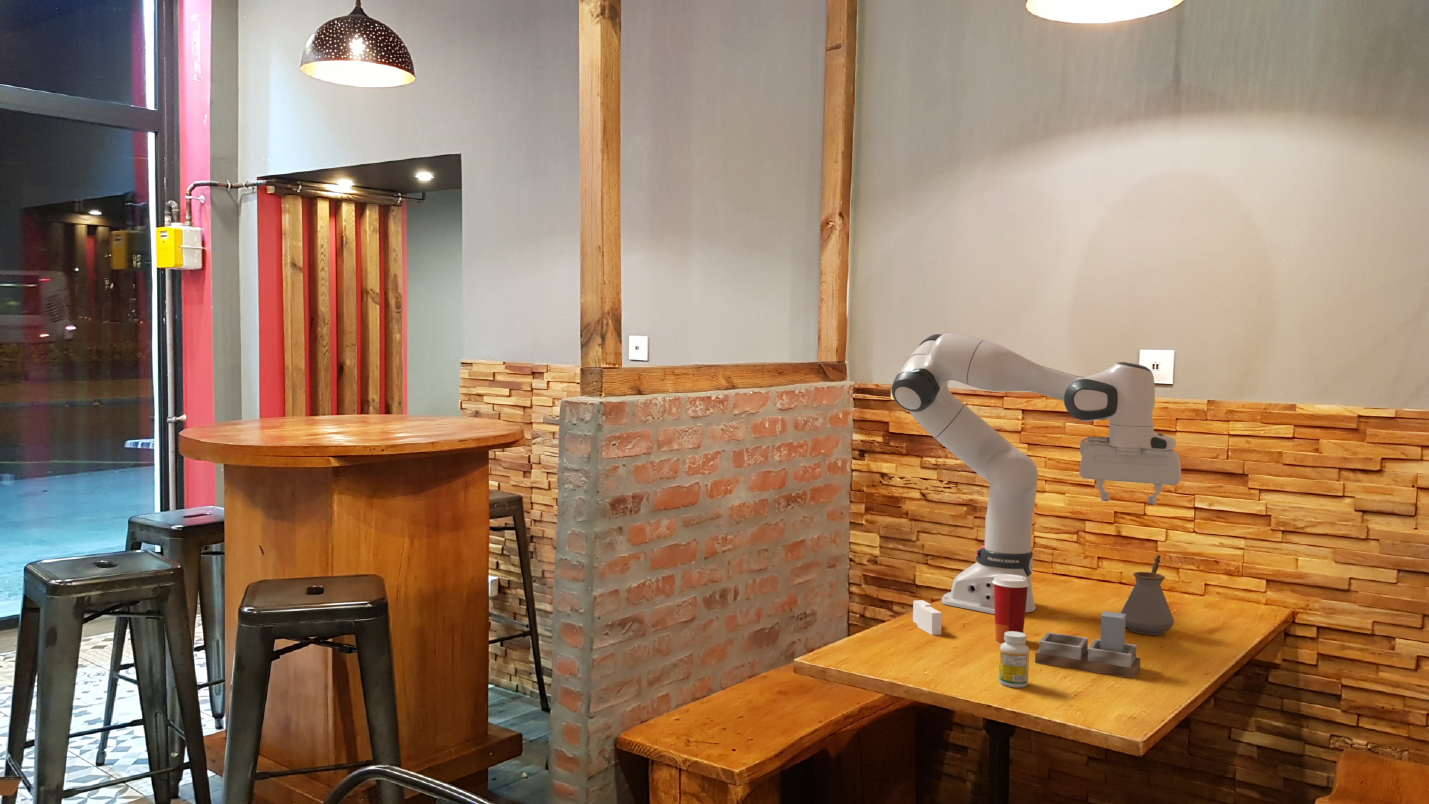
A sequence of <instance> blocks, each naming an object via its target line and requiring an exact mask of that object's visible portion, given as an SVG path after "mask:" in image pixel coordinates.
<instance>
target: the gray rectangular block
mask: <svg viewBox="0 0 1429 804" xmlns="http://www.w3.org/2000/svg"><path fill="white" fill-rule="evenodd" d="M1100 619H1101V621H1100V639H1099V640H1100V650H1107V651H1113V652H1120V653H1124V645H1125V644H1126V625H1125V621H1126V614H1121V612H1113V611H1107V610H1106V611H1103V613H1102V614H1101V618H1100Z"/></svg>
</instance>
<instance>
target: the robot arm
mask: <svg viewBox="0 0 1429 804" xmlns="http://www.w3.org/2000/svg"><path fill="white" fill-rule="evenodd" d="M949 381H956V382H959V383H962V384H964V385H966V386H970V387H973V388H977V389H980V390H984V391H985V390H986V391H990V392H998V393H999V392H1001V393H1002V392H1005V393H1006V392H1032V393H1035V394H1038V395H1043V396H1046V397H1049V398H1052V399H1056V400H1059V401H1062V402H1063V403H1064V407H1065V409H1066V411H1067V413H1069V415H1070V416H1072V417H1073V418H1074V419H1076V420H1079V421H1083V422H1093V421H1104V420H1109V424H1108V425H1109V428H1108V430H1109V431H1108V437H1107V436H1091V435H1090V436H1087V437H1085V438H1083V439H1082V440H1081V441H1080V443H1079V453H1080V455H1081V458H1080V466H1079V475H1080V477H1081V478H1082V479H1085V480H1086V479H1087V480H1096V481H1095V482H1096V483H1095V484H1096V486H1097V489H1098V491H1099V493H1100V494H1101V495H1100V500H1101V502H1109V501H1110V492H1109V491H1106V490H1105V487H1104V485H1105V481H1110V482H1111V481H1112V482H1122V483H1123V482H1125V483H1137V484H1138V483H1139V484H1140V483H1141V484H1153V485H1154V490H1155V492H1154V493H1153V495H1148V497H1147V500H1148V501H1147V505H1149V506H1156V505H1157V497H1158V496H1159V494H1160V493H1161V492H1162V490H1163V485H1165V486H1177V485H1178V484H1180V482H1181V481H1182V467H1181V459H1180V456H1179V454H1178V452H1177V450H1175V448H1176V445H1177V442H1176V439H1175V438H1173V437H1171V436H1168V435H1164V434H1163V433H1159V432H1156V431H1155V430H1154V429H1155V428H1154V427H1155V425H1154V424H1155V423H1154V420H1153V411H1154V408H1155V405H1156V404H1155V403H1156V401H1155V400H1156V392H1155V391H1156V388H1155V387H1156V385H1155V377H1154V374H1153V372H1152V370H1151V369H1150V368H1148V367H1147V366H1145V365H1141V364H1137V363H1132V362H1125V361H1119V362H1116V363H1115V364H1114V365H1112V366H1111V367H1109V368H1107V369H1104V370H1103V371H1100V372H1097V373H1095V374H1091V375H1087V376H1079V375H1074V374H1071V373H1067V372H1063V371H1060V370H1056V369H1053V368H1050V367H1047V366H1044V365H1040V364H1039V363H1036V362H1034V361H1032V360H1029V359H1028V358H1026V357H1024V356H1022V355H1020V354H1018V353H1016V352H1014V351H1012V350H1010V349H1008V348H1006V347H1005V346H1002V345H1001V344H998V343H995V342H993V341H990V340H987V339H983V338H979V337H974V336H971V335H966V334H959V333H953V332H948V333H947V332H946V333H944V334H943V333H942V334H938V333H937V334H936V333H935V334H933V335H930V336H928V337H927V338H925V339H924V340H923V341H921V343H919V346H918V347H917V348H916V349H914V351H913V352H912V353H911V354H910V355H909V357H908V358H907V359H906V361H905V363H904V365H902V368H901V369H900V371H899V373H897V375H896V376H895V378H894V380H893V382H892V384H891V395H892V398H893V400H894V401H895V403H897V405H898V406H900V407H901V408H902V409H904V410H906V411H909V413H910V414H911V416H912V417H913V418H914V420H916V423H918V424H919V425H920V426H921V427H922V428H923V430H925V431H926V432H927V433H928V434H929V435H931V436H932V437H933V438H934V439H935V440H936V441H937V442H938V443H940V444H941V445H942V446H943V447H945V448H946V449H947V450H948V451H949V452H950V453H952V454H953V455H954V456H955V457H957V458H958V459H959V460H960V461H961V462H963V463H964V464H965V465H967V467H969V468H970V469H971V470H972V471H974V472H975V473H976V474H978V476H980V478H982V479H983V480H985V481H986V482H987V483H989V490H988V492H989V493H988V501H987V508H986V514H985V526H984V545H981V546H980V547H979V548H978V550H976V552H975V560H976V562H975V563H973V564H972V565H969V566H968V567H967V568H965V569H964V570H963V571H960V572H959V573H958V574H957V575H956V576H955V578H954V580H953V582H952V586H951V591H949V592H946V593H945V594H943V596H942V597H941V602H942V604H943V605H946V606H951V607H955V608H961V609H967V610H971V611H975V612H982V613H987V614H993V615H995V601H994V584H993V583H992V581H993V580H994V578H995V577H996V575H1001V574H1011V575H1019V576H1023V577H1026V578H1027V581H1028V583H1029V586H1028V588H1027V600H1026V609H1025V614H1027V613H1031V612H1035V610H1037V606H1036V603H1035V599H1034V593H1033V592H1034V591H1033V584H1032V583H1033V582H1032V574H1033V569H1034V557H1033V556H1034V553H1033V551H1032V534H1033V533H1032V532H1033V531H1032V530H1033V529H1032V528H1033V517H1034V516H1033V515H1034V512H1035V511H1034V510H1035V505H1036V498H1037V490H1038V480H1039V473H1038V472H1039V470H1038V467H1037V465H1036V463H1035V462H1034V460H1033V459H1032V458H1031V457H1030V456H1029V455H1026V454H1025V453H1024V452H1022V451H1020V450H1019V449H1018V448H1017V447H1015V446H1014V444H1012V443H1011V442H1009V441H1008V440H1007V439H1006V438H1005V437H1004V436H1003V435H1002V434H1001V433H999V432H998V431H997V430H995V428H993V427H992V426H991V425H990V424H989V423H988V422H987V421H985V420H984V419H982V418H981V417H980V416H979V415H978V414H977V413H975V412H974V411H973V410H972V409H971V408H969V407H968V406H967V405H965V403H963V402H962V401H961V400H960V399H958V398H957V397H956V396H954V395H953V393H951V392H950V390H949V387H948V383H949Z"/></svg>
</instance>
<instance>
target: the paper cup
mask: <svg viewBox="0 0 1429 804" xmlns="http://www.w3.org/2000/svg"><path fill="white" fill-rule="evenodd" d="M992 583H993V584H994V601H995V614H994V628H995V629H994V630H995V635H994V636H995V641H996V642H998V643H1000V644H1003V643H1005V642H1006V641H1005V640H1004V634H1005V632H1009V631H1014V632H1021V633H1024V629H1025V619H1026V613H1025V609H1026V600H1027V588H1028V586H1029V583H1028V581H1027V578H1026V577H1023V576H1019V575H1011V574H1001V575H996V577H995V578H994V580H993V581H992Z"/></svg>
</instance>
